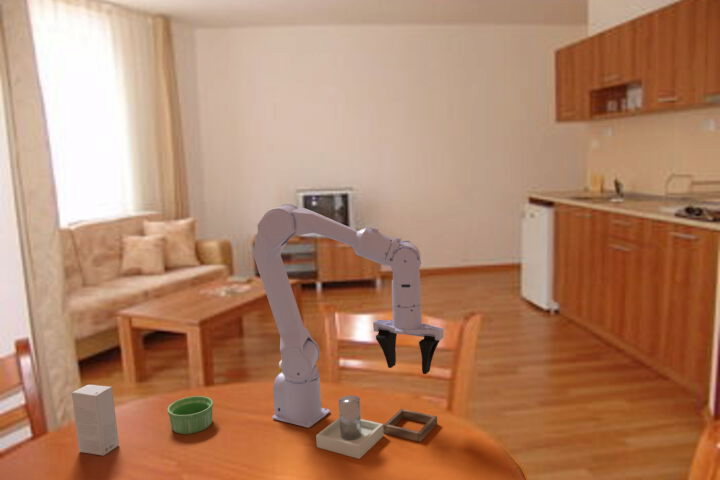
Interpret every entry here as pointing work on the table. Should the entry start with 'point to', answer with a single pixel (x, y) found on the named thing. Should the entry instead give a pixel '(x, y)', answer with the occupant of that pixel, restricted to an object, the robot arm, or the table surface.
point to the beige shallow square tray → (353, 448)
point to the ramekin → (190, 414)
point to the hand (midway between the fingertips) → (408, 369)
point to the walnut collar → (407, 433)
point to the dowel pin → (350, 417)
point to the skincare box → (95, 419)
